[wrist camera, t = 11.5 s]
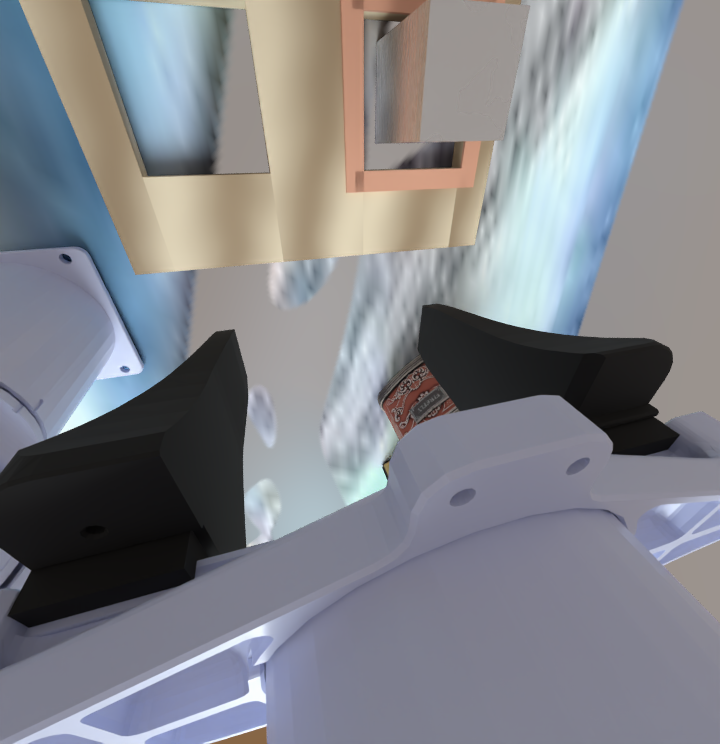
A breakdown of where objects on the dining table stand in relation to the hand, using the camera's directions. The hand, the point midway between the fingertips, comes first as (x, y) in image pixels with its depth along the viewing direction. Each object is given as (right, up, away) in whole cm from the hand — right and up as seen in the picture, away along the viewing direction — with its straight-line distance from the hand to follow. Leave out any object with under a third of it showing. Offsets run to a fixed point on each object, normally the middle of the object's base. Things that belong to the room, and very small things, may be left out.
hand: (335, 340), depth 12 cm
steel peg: (+4, +14, +5) cm, 15 cm away
